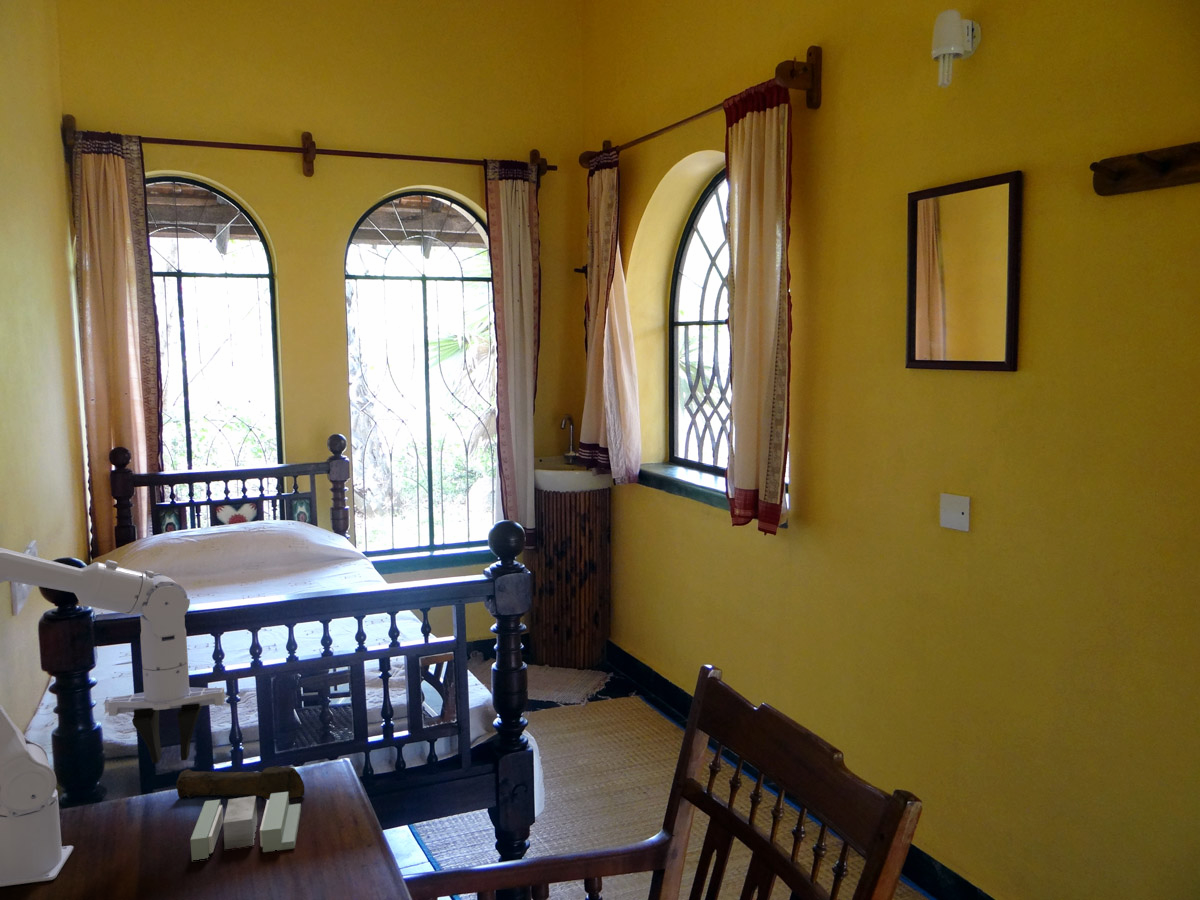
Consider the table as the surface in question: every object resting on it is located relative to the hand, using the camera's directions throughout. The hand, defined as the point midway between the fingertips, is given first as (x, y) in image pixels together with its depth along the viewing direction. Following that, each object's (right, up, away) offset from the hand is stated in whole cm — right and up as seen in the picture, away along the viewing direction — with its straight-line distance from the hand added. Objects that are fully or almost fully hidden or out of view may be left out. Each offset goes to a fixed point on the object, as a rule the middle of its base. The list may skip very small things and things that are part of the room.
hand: (171, 758), depth 131 cm
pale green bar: (+15, -10, -1) cm, 18 cm away
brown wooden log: (+6, -9, +11) cm, 16 cm away
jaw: (+6, -10, -3) cm, 12 cm away
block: (+10, -10, -2) cm, 15 cm away
